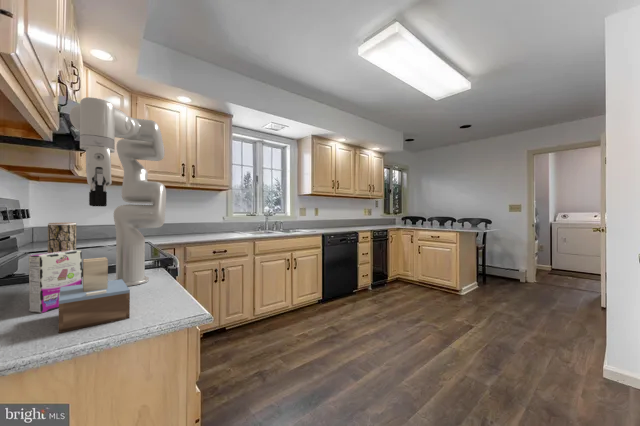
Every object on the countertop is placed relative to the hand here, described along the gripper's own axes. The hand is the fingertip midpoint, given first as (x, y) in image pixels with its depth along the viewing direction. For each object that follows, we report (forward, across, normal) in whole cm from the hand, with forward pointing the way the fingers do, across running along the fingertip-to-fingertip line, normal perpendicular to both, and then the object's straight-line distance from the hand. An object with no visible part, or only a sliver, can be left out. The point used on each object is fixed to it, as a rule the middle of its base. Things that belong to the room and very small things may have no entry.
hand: (97, 206), depth 76 cm
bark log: (+31, +24, +8) cm, 40 cm away
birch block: (+23, -2, +1) cm, 23 cm away
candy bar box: (+31, +16, +9) cm, 36 cm away
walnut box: (+31, -2, +1) cm, 31 cm away
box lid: (+24, -2, +1) cm, 24 cm away
